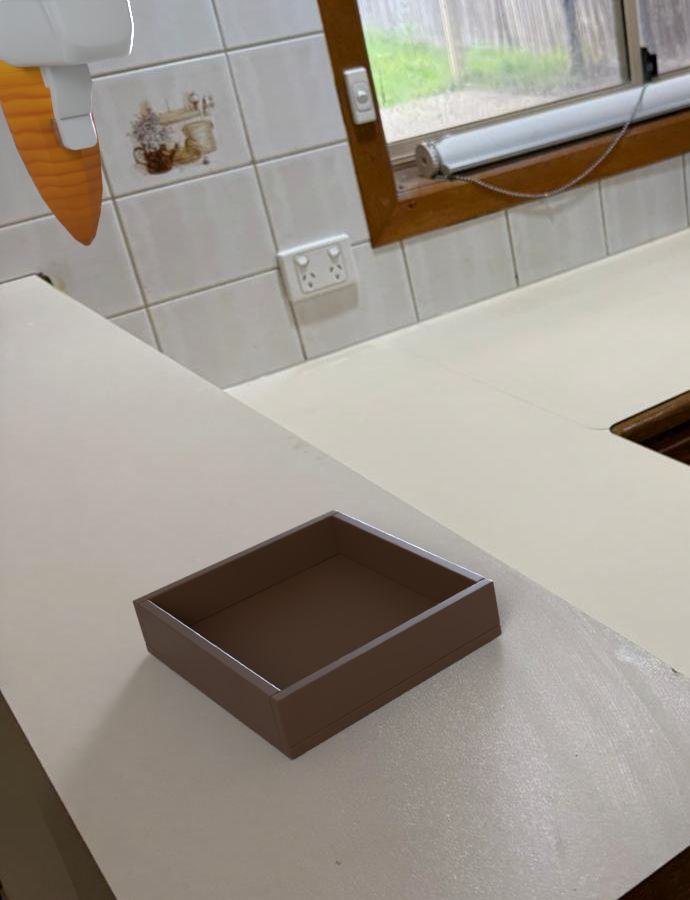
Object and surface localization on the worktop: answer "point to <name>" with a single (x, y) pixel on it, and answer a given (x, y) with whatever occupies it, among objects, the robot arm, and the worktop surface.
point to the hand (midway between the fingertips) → (58, 146)
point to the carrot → (52, 153)
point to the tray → (317, 627)
